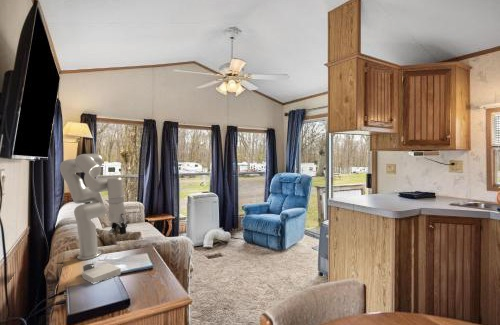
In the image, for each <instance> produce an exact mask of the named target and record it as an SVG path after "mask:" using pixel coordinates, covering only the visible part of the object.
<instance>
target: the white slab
mask: <svg viewBox="0 0 500 325" xmlns="http://www.w3.org/2000/svg"><path fill="white" fill-rule="evenodd" d="M121 272H122V270H121V267H118V266H116V265H114V264H111V263H104V264H102V265H98V266H96V267H94V268H93V269H90V270H87V271H84V272H83V271H82V272H81V275H82V279H84V281H87V282H89V283H90V282H93V283H94V282H98V281H101V280H104V279H107V278H109V279H112V278H114V276H115V277H118V276H120V275H122V273H121ZM111 277H112V278H111ZM107 280H108V279H107ZM104 281H105V280H104ZM101 282H102V281H101Z"/></svg>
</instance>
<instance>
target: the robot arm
mask: <svg viewBox="0 0 500 325" xmlns="http://www.w3.org/2000/svg"><path fill="white" fill-rule="evenodd" d="M103 162H104V160H103V157H102V155H100V154H99V153H83V154H79V155H77V156H76V157H75V158H70V159H65V160H63V161H62V162H60V164H59V170H60V174H61V177H62V178H63V179H64V181H65V183H66V184H67V188H68V191H69V193H70V196H71V199H72V201H73V203H75V204H80V205H77V206H76V207H75V208H74V210H73V214H74V218H75V221H76V225H77V226H76V227H77V236H78V246H79V247H78V248H79V254H78V255H77V258H76V259H78V260H79V261H85V260H91V259H95V258H97V257H100V256H101V255H102V251H101V250H99V248H98V247H99V246H98V236H97V227H96V224H95V223H94V221H92V220H93V219H96V218H102V217H104V216H105V215H106V214H107V206H106V203H105V202H106V201H105V200H104V197H103V194H102V192H107V198H108V220H109V222H110V225H111V229H112V228H114V229H116V227H117V225H120V227H119V229H120V234H119V235H121V236H123V235H125V234H127V228H126V224H127V221H128V220H127V216H126V210H125V209H126V207H125V204H124V203H125V195H124V185H123V183H124V182H123V178H122V177H119V176H117V177H115V176H107V177H106V176H105V177H98V176H99V175H100V173H101V171H102V166H103ZM78 173H84V175H83V176H84V177H83V178H82V177H81V176H80V175H78ZM96 177H97V178H96ZM121 223H122V224H121ZM122 234H123V235H122Z"/></svg>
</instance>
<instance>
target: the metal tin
mask: <svg viewBox="0 0 500 325" xmlns="http://www.w3.org/2000/svg"><path fill="white" fill-rule="evenodd" d="M93 268H95V264H94V263H88V264H85V265H83V266H82V270H83V271H82V272H84V271H87V270H90V269H93Z"/></svg>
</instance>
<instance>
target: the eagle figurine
mask: <svg viewBox="0 0 500 325" xmlns="http://www.w3.org/2000/svg"><path fill="white" fill-rule="evenodd" d="M121 224H122V223H121ZM119 227H120V225H119V224H118V225H117V227H116V229H114V228H112V227H111V228H110V229H109V233H110V234H113V235H114V239H115V238H117V237H118V236H119V235H120V229H119ZM127 227H128V224H127V223H126V229H127ZM121 236H124V234H122V235H121Z"/></svg>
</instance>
